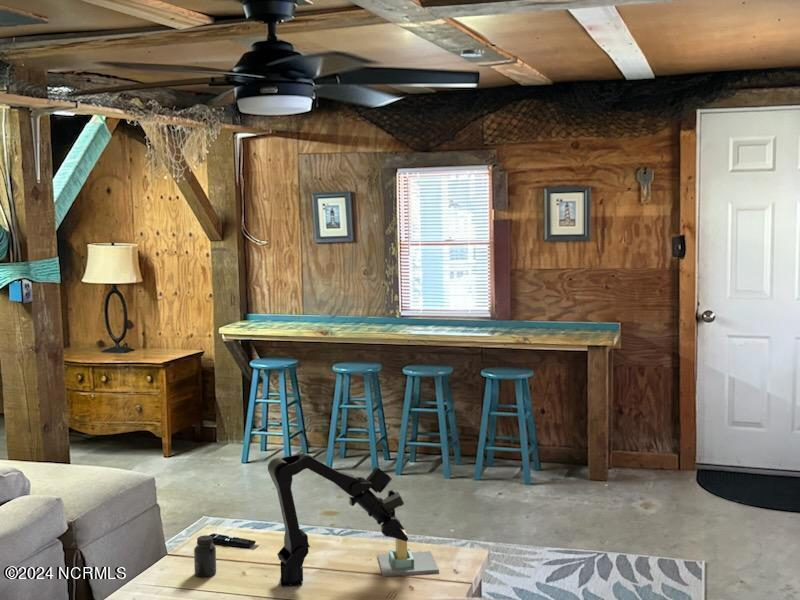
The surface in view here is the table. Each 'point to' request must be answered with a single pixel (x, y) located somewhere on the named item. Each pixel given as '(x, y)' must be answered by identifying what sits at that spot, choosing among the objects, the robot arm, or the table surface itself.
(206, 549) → the supplement bottle
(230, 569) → the table surface
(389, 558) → the plate
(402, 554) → the block
